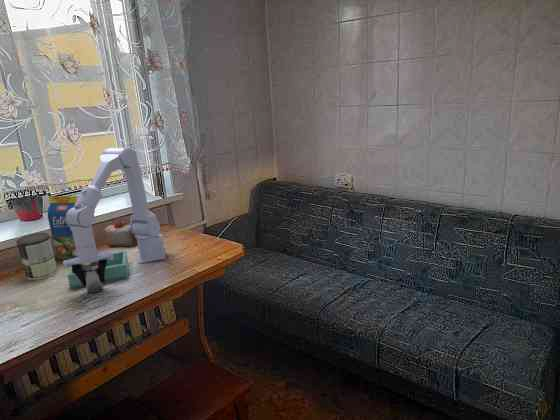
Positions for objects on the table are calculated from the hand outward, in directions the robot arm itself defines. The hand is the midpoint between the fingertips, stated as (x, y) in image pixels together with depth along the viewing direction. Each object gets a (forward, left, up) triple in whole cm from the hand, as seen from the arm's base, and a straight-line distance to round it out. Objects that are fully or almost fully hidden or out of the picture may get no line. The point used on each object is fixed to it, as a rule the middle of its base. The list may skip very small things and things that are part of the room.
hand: (94, 283), depth 135 cm
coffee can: (+20, -24, -3) cm, 31 cm away
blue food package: (+10, -36, -3) cm, 37 cm away
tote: (-1, -12, -2) cm, 12 cm away
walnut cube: (+2, -12, -2) cm, 12 cm away
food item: (-8, -42, -3) cm, 43 cm away
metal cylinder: (0, 0, -2) cm, 2 cm away
